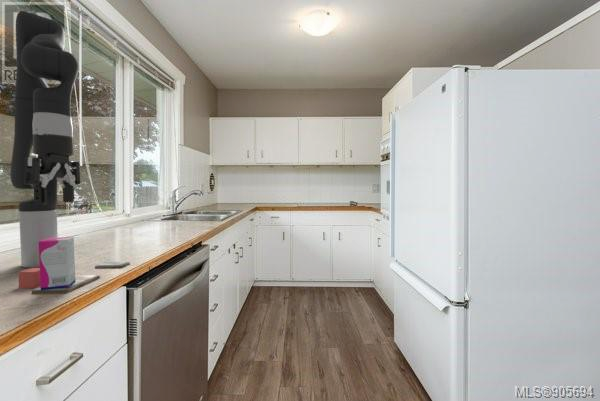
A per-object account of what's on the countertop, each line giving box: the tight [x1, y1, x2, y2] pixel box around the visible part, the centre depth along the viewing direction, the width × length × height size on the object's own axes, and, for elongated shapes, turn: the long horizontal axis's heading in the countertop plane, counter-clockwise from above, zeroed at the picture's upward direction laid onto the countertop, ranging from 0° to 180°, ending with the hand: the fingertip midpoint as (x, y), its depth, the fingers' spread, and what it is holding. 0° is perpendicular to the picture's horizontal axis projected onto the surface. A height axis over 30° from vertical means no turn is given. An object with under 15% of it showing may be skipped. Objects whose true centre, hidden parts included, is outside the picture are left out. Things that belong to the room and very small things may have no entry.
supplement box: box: [39, 236, 76, 290], centre depth 77 cm, size 6×6×12 cm
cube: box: [17, 267, 40, 289], centre depth 80 cm, size 4×4×4 cm
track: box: [31, 261, 131, 294], centre depth 88 cm, size 28×8×1 cm, turn 0°
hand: (55, 203), depth 76 cm, fingers open, 8 cm apart
